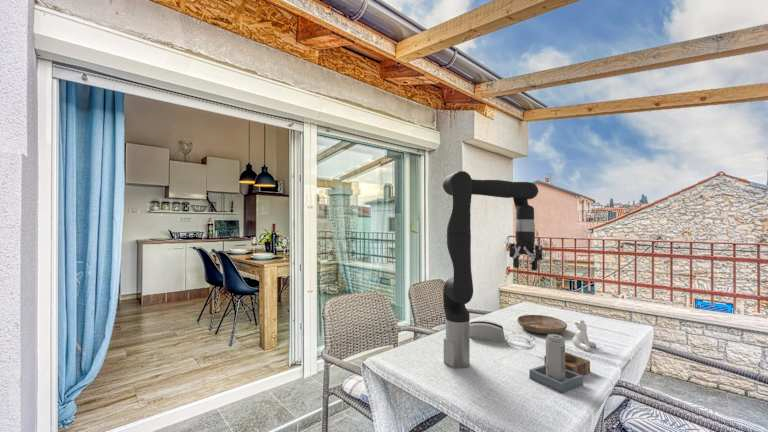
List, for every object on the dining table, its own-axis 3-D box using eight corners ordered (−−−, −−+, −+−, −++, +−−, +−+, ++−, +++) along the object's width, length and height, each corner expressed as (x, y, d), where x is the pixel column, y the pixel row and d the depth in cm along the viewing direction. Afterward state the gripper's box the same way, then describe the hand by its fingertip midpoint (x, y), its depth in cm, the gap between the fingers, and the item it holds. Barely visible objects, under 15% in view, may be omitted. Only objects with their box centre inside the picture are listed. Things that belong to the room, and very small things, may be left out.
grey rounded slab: (505, 339, 158) (504, 321, 155) (504, 345, 154) (504, 327, 151) (469, 333, 165) (468, 316, 162) (468, 340, 161) (466, 322, 158)
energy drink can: (547, 374, 120) (547, 332, 121) (566, 378, 117) (566, 335, 117) (544, 380, 116) (543, 336, 116) (563, 385, 112) (563, 340, 112)
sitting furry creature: (589, 352, 142) (589, 324, 142) (568, 346, 149) (568, 320, 149) (597, 347, 148) (597, 320, 148) (576, 342, 155) (576, 316, 155)
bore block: (572, 378, 118) (572, 367, 118) (543, 366, 128) (543, 355, 128) (591, 371, 124) (591, 361, 124) (561, 360, 134) (561, 350, 134)
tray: (561, 393, 108) (561, 384, 108) (529, 378, 118) (529, 369, 118) (582, 384, 114) (582, 375, 114) (550, 370, 124) (550, 362, 124)
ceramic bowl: (507, 327, 177) (507, 317, 177) (538, 321, 187) (538, 312, 187) (544, 341, 156) (544, 330, 156) (577, 334, 166) (577, 324, 166)
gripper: (505, 230, 144) (505, 267, 144) (534, 230, 131) (534, 271, 131) (516, 230, 148) (517, 266, 147) (546, 230, 135) (546, 270, 135)
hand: (525, 269), depth 139 cm, fingers open, 8 cm apart
